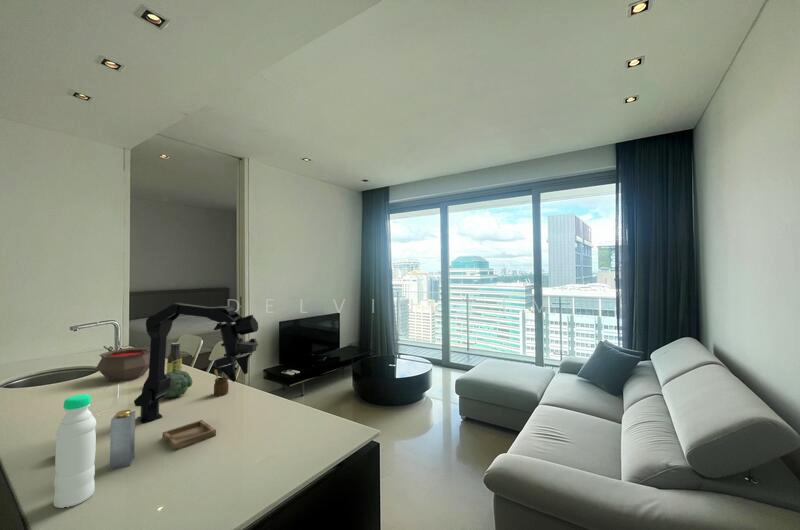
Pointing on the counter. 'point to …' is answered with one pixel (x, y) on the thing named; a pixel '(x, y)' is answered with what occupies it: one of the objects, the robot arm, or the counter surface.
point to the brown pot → (124, 363)
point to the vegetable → (178, 383)
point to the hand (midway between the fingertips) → (240, 377)
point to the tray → (188, 434)
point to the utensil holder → (220, 385)
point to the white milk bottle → (75, 453)
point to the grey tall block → (122, 439)
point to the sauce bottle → (174, 358)
